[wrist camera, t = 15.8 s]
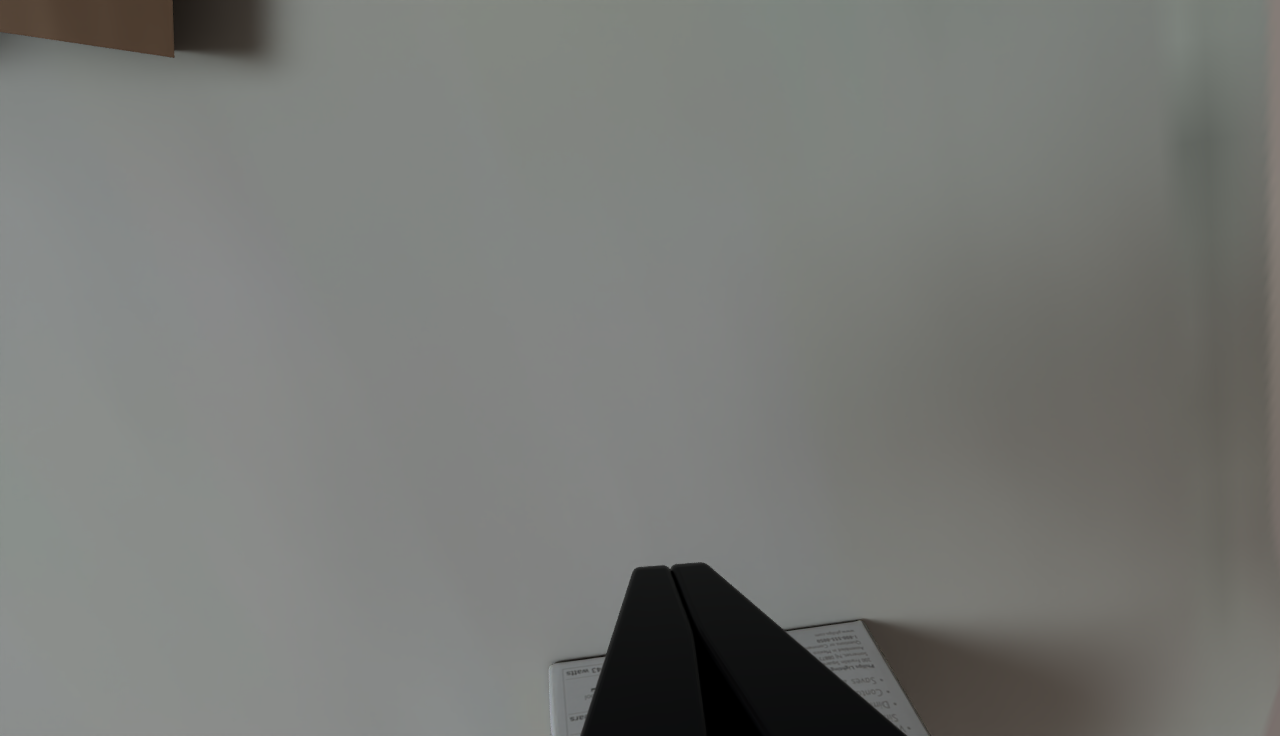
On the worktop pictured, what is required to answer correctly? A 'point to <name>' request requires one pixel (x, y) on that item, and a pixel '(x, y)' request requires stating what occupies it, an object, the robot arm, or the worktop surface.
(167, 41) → the domino
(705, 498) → the worktop surface
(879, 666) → the light bulb box
